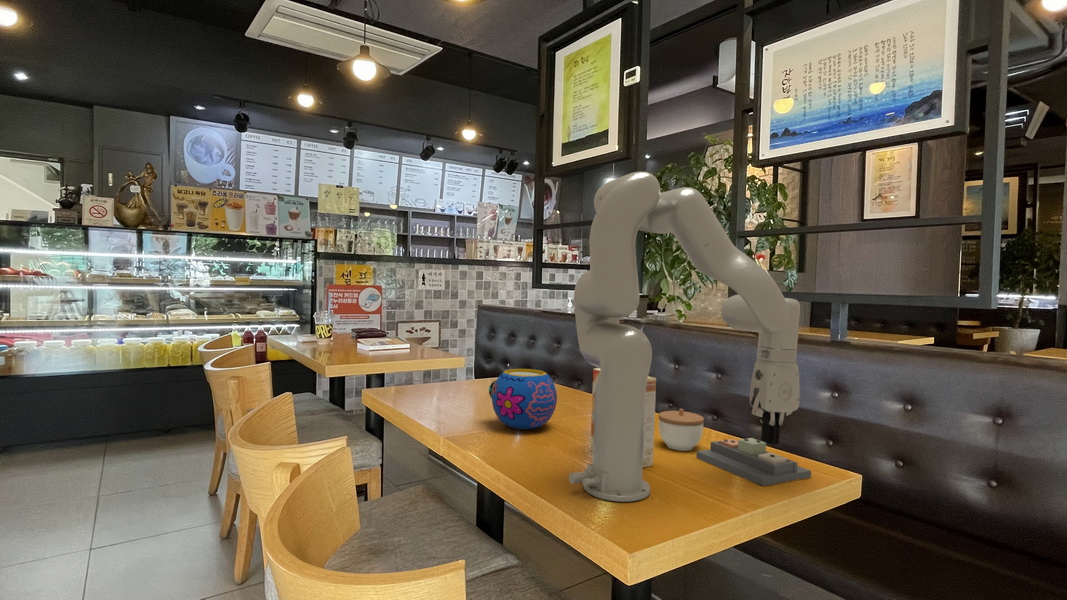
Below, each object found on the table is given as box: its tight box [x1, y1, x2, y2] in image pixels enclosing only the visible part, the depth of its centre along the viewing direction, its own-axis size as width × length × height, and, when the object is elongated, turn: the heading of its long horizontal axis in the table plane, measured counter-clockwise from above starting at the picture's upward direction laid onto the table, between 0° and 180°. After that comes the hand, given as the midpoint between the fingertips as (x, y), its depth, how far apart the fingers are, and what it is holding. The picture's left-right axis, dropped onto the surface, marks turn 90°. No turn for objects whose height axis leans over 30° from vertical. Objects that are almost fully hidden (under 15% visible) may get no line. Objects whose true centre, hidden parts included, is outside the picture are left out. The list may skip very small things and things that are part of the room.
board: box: [696, 440, 812, 487], centre depth 122 cm, size 14×19×4 cm
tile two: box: [738, 437, 767, 456], centre depth 121 cm, size 4×4×3 cm
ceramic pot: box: [488, 368, 558, 430], centre depth 148 cm, size 18×18×15 cm
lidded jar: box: [658, 408, 705, 452], centre depth 135 cm, size 11×11×9 cm
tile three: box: [719, 438, 739, 449], centre depth 126 cm, size 4×4×3 cm
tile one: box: [758, 452, 788, 464], centre depth 117 cm, size 4×4×3 cm
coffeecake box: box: [589, 367, 657, 468], centre depth 125 cm, size 15×7×20 cm, turn 27°
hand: (769, 442), depth 116 cm, fingers closed
